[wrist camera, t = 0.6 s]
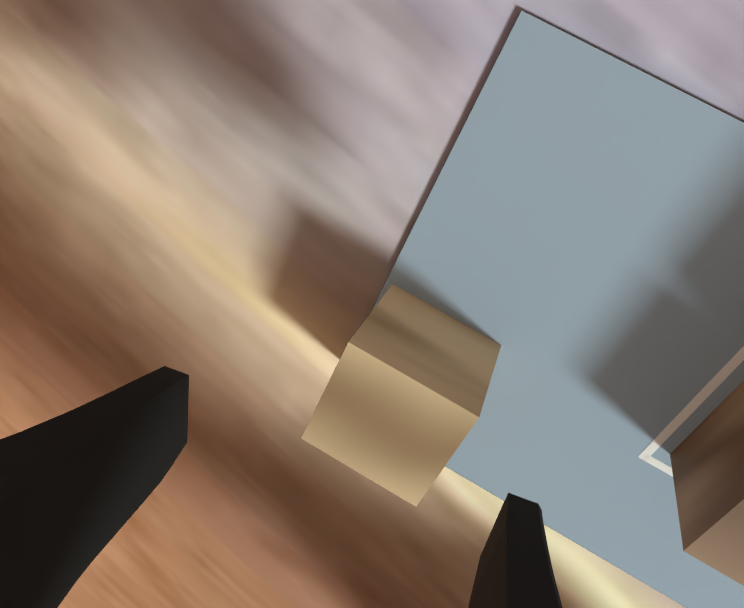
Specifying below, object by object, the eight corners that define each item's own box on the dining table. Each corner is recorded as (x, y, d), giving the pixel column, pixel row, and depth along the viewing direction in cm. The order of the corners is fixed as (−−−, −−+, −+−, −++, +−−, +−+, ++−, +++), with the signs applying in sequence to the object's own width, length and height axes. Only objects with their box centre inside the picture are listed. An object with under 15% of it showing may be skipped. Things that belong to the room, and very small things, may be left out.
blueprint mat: (767, 651, 24) (769, 656, 24) (330, 395, 26) (327, 397, 26) (1214, 360, 16) (1221, 364, 16) (522, 10, 18) (521, 10, 17)
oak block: (445, 427, 24) (416, 506, 21) (348, 370, 25) (301, 438, 21) (501, 345, 22) (479, 417, 18) (392, 284, 22) (348, 341, 19)
